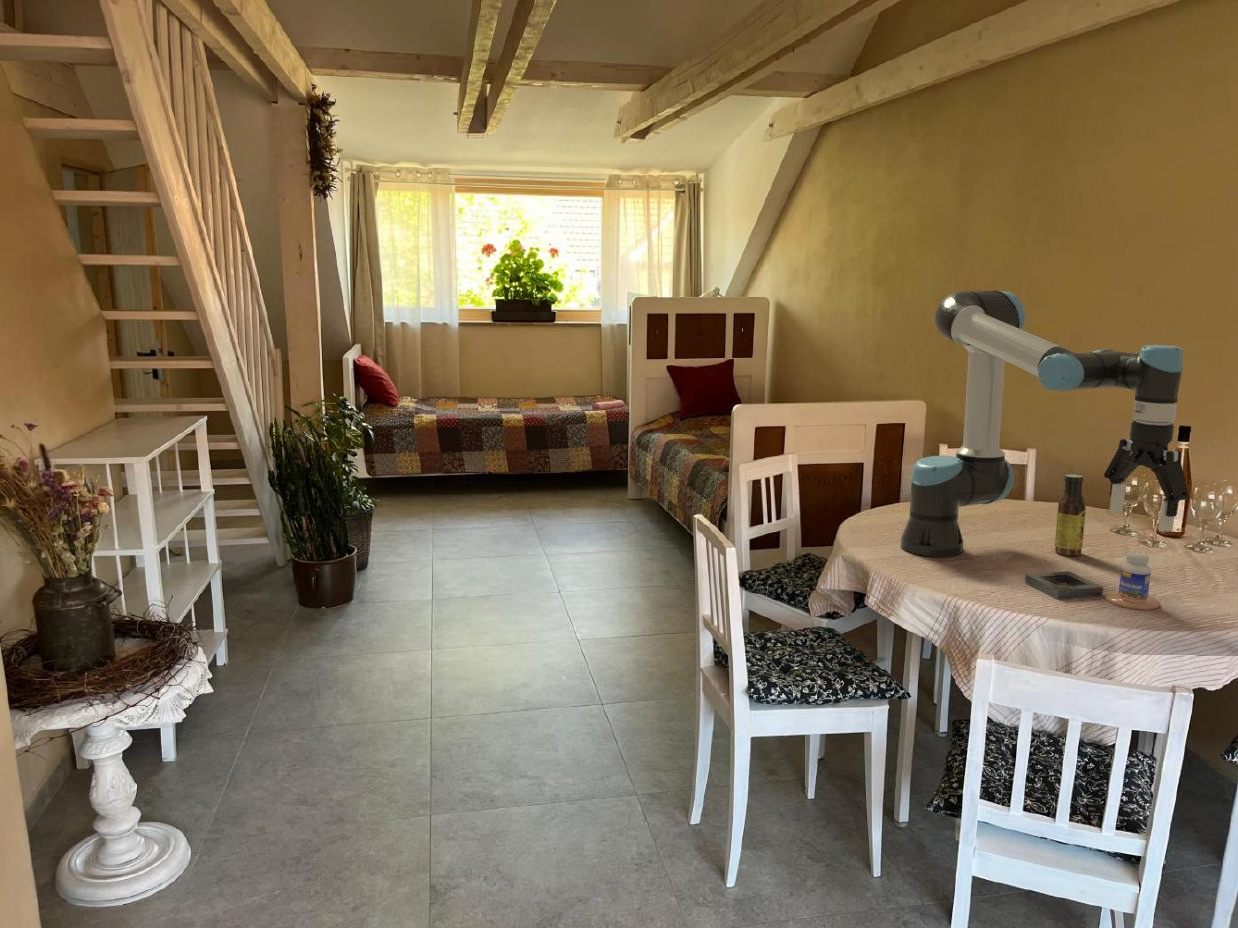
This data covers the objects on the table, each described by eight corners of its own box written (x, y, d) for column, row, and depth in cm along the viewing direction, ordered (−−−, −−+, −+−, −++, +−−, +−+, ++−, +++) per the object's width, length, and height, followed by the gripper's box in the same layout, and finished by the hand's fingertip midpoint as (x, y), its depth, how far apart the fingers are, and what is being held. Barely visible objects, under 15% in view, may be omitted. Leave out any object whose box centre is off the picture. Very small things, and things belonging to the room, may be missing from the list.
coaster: (1094, 595, 192) (1094, 592, 192) (1134, 591, 194) (1134, 589, 194) (1129, 611, 183) (1129, 609, 183) (1170, 608, 185) (1171, 605, 185)
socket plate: (1024, 582, 201) (1025, 574, 200) (1067, 579, 203) (1068, 571, 202) (1057, 599, 190) (1058, 590, 190) (1102, 595, 192) (1103, 586, 192)
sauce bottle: (1084, 557, 218) (1093, 479, 214) (1057, 556, 220) (1065, 478, 216) (1077, 549, 225) (1084, 473, 221) (1050, 548, 226) (1057, 472, 222)
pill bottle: (1114, 599, 188) (1119, 555, 186) (1122, 592, 192) (1127, 549, 190) (1142, 605, 185) (1148, 560, 183) (1150, 598, 188) (1155, 555, 186)
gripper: (1093, 412, 192) (1082, 506, 197) (1186, 433, 168) (1171, 540, 173) (1123, 411, 193) (1111, 505, 198) (1220, 432, 169) (1204, 538, 174)
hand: (1139, 521), depth 185 cm, fingers open, 13 cm apart
